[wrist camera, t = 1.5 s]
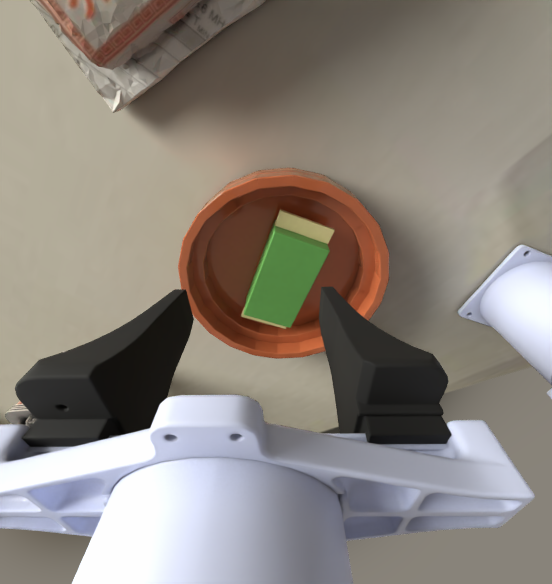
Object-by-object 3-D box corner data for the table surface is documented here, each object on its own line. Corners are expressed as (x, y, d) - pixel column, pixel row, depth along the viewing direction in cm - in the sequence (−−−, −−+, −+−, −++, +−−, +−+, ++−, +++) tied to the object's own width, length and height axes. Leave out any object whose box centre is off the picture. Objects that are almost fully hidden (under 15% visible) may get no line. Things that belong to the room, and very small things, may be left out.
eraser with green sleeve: (331, 223, 22) (337, 236, 19) (285, 318, 27) (285, 337, 25) (280, 204, 21) (280, 215, 19) (242, 306, 26) (239, 325, 24)
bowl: (415, 210, 22) (436, 225, 19) (325, 349, 30) (330, 375, 27) (214, 129, 19) (202, 132, 16) (177, 309, 27) (165, 332, 24)
